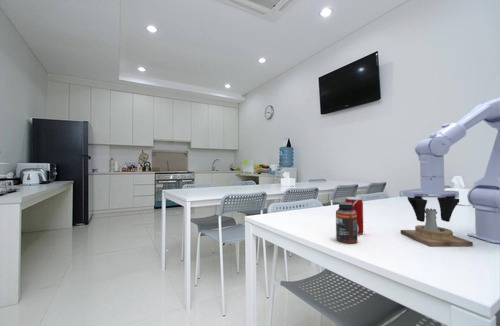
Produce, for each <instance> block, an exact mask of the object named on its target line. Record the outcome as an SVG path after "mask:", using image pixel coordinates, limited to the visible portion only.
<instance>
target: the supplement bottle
mask: <svg viewBox="0 0 500 326" xmlns="http://www.w3.org/2000/svg"><path fill="white" fill-rule="evenodd" d="M335 233H336V234H335V236H336V240H337V241H338V242H341V243H343V244H344V243H345V244H354V243H357V242H358V235H357V213H356V211H354V210H353V204H352V203H347V202H345V201H344V202H339V203H338V209H336V211H335Z"/></svg>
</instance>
